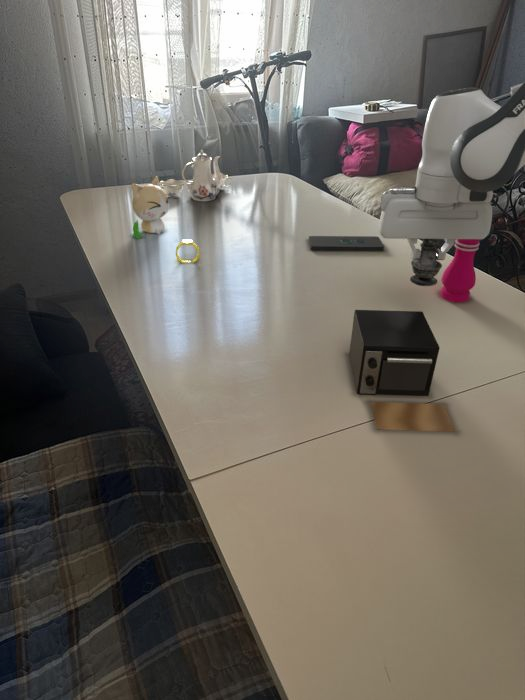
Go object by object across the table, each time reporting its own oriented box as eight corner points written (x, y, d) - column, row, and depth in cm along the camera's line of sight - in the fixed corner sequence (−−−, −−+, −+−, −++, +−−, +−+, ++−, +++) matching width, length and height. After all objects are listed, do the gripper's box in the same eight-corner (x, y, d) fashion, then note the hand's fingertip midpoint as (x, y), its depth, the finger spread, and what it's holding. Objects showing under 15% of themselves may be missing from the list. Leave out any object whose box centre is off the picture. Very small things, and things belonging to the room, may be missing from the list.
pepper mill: (437, 301, 116) (456, 214, 105) (438, 288, 122) (457, 204, 111) (470, 306, 114) (493, 219, 103) (470, 293, 120) (492, 208, 109)
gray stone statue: (402, 278, 104) (411, 220, 97) (424, 272, 106) (434, 215, 100) (422, 289, 99) (433, 229, 93) (445, 283, 102) (457, 224, 95)
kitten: (148, 243, 144) (141, 189, 136) (122, 236, 148) (114, 183, 140) (182, 228, 155) (178, 177, 147) (156, 221, 159) (151, 172, 151)
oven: (412, 358, 96) (422, 311, 91) (430, 404, 85) (442, 353, 79) (348, 356, 97) (354, 309, 91) (357, 401, 85) (365, 351, 80)
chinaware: (219, 189, 196) (214, 142, 188) (246, 194, 184) (242, 145, 176) (154, 202, 180) (147, 152, 173) (179, 209, 169) (172, 156, 161)
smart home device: (384, 246, 139) (311, 246, 139) (383, 252, 140) (310, 252, 140) (378, 235, 146) (308, 235, 146) (377, 241, 147) (308, 241, 147)
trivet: (443, 406, 84) (443, 404, 84) (454, 433, 79) (455, 431, 79) (370, 404, 85) (370, 401, 84) (376, 431, 79) (376, 428, 79)
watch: (176, 265, 131) (174, 243, 128) (176, 261, 133) (174, 239, 130) (200, 264, 132) (198, 242, 129) (199, 260, 134) (198, 238, 131)
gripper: (385, 192, 91) (376, 265, 98) (502, 192, 90) (484, 265, 97) (379, 182, 96) (371, 252, 103) (490, 183, 95) (474, 253, 103)
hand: (427, 259), depth 100 cm, fingers closed on gray stone statue, 3 cm apart
